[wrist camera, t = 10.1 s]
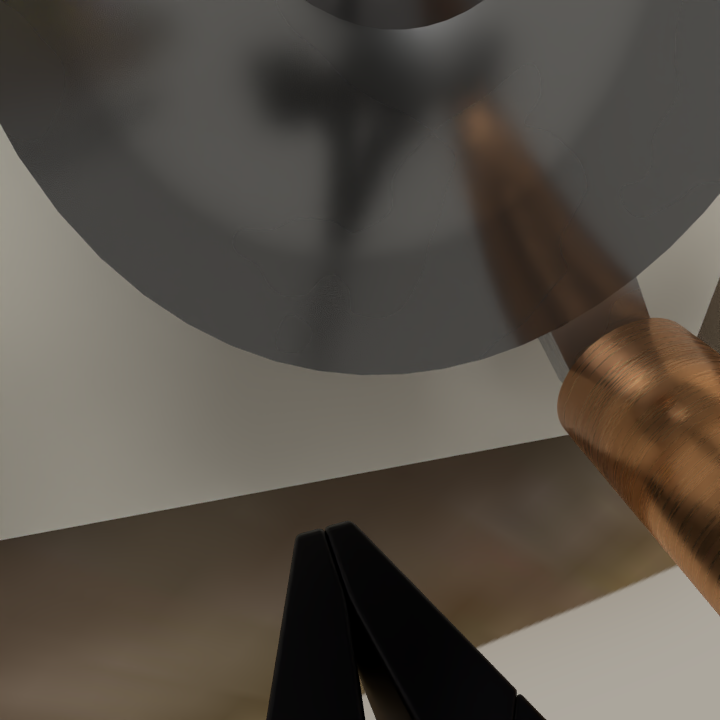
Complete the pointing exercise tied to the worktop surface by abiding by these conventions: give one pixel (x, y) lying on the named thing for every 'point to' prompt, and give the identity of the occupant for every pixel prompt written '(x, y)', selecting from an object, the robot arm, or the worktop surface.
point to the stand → (230, 386)
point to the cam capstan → (406, 195)
